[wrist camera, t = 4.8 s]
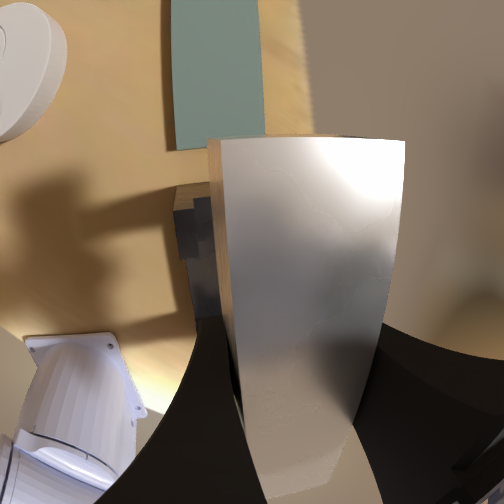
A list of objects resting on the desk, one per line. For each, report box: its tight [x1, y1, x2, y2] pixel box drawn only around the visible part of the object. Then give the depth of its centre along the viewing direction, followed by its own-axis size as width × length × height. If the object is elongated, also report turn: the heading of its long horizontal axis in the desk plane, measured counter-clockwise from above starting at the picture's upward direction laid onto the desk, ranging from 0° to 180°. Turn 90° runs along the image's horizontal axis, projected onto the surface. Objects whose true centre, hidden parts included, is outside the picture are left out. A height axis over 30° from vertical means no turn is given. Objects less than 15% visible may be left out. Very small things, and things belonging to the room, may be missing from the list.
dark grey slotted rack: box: [173, 182, 222, 334], centre depth 16 cm, size 10×5×6 cm, turn 3°
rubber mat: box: [171, 0, 265, 150], centre depth 12 cm, size 16×5×1 cm, turn 3°
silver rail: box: [207, 134, 405, 499], centre depth 8 cm, size 12×3×3 cm, turn 3°
